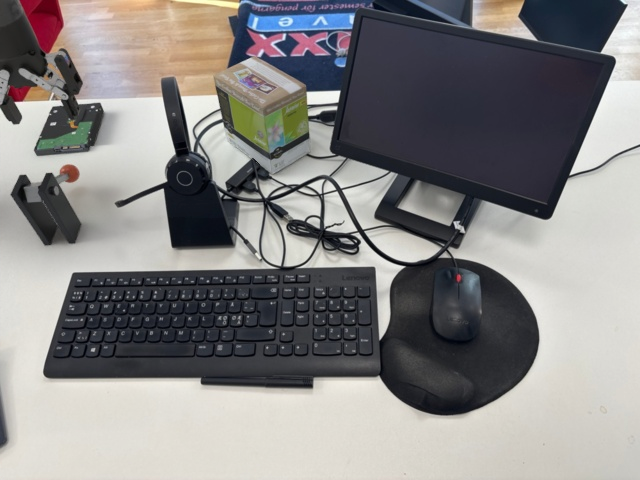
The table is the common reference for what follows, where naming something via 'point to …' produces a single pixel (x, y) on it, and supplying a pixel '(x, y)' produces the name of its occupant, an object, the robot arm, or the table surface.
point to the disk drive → (69, 130)
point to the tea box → (264, 113)
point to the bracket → (41, 215)
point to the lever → (65, 174)
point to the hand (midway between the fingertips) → (46, 119)
